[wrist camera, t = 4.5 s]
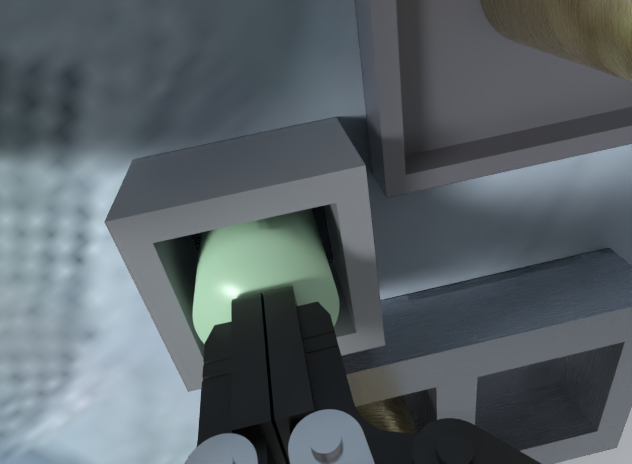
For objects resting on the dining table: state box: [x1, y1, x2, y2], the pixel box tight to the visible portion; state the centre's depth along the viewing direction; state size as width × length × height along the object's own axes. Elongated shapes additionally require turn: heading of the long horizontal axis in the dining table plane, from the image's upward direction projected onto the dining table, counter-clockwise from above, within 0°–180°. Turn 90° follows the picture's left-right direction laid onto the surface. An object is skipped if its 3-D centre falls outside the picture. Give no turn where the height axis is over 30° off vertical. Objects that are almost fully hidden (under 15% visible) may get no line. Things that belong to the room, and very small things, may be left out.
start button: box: [192, 208, 340, 344], centre depth 13 cm, size 4×4×4 cm
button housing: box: [105, 117, 385, 392], centre depth 13 cm, size 6×6×4 cm
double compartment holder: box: [342, 248, 632, 464], centre depth 19 cm, size 15×9×3 cm, turn 99°
